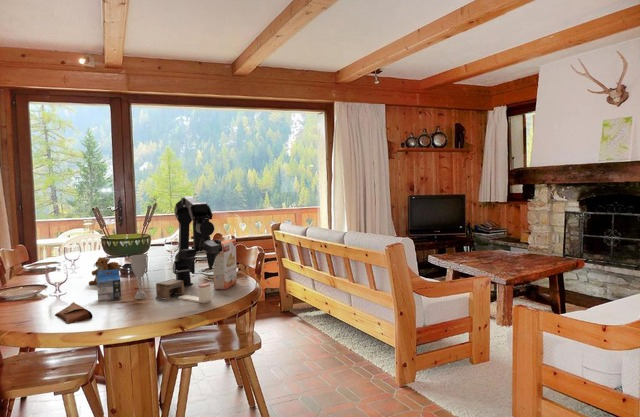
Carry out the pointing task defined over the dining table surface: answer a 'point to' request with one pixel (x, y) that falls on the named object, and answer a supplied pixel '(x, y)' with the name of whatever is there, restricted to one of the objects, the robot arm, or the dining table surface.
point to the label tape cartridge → (108, 285)
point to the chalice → (139, 272)
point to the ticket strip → (203, 294)
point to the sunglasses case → (74, 314)
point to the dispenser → (169, 288)
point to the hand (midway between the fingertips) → (202, 271)
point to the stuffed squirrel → (103, 267)
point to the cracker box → (225, 266)
